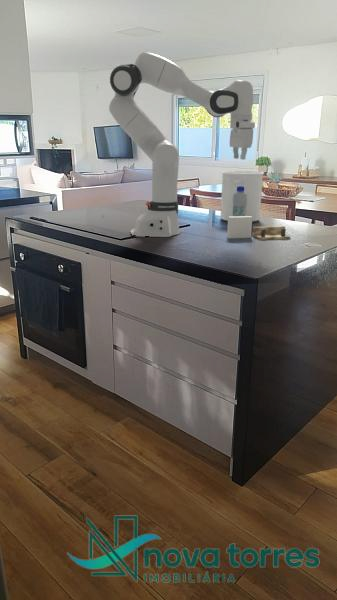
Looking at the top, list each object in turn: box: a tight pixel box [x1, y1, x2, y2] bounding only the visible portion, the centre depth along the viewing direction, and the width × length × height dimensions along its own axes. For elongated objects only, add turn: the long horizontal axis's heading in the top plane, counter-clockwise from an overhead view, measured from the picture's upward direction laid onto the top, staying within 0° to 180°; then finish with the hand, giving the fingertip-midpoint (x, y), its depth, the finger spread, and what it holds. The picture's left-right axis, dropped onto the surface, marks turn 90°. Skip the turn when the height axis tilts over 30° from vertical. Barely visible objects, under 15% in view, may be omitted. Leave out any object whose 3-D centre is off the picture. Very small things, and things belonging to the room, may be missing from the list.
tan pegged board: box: [251, 225, 291, 241], centre depth 195 cm, size 14×10×4 cm
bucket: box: [220, 170, 265, 224], centre depth 231 cm, size 26×22×24 cm
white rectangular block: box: [226, 216, 253, 239], centre depth 193 cm, size 10×2×9 cm, turn 98°
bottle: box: [233, 186, 247, 216], centre depth 208 cm, size 7×7×20 cm
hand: (239, 159), depth 189 cm, fingers open, 8 cm apart
